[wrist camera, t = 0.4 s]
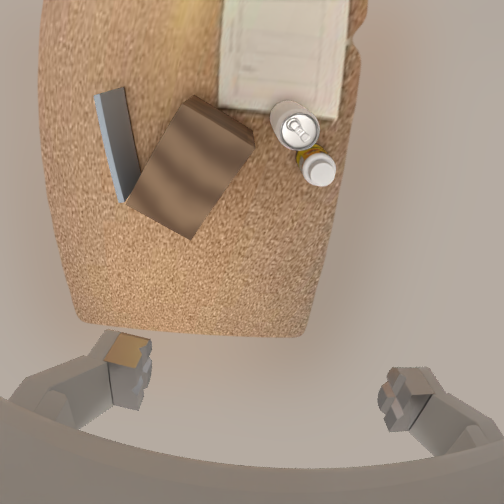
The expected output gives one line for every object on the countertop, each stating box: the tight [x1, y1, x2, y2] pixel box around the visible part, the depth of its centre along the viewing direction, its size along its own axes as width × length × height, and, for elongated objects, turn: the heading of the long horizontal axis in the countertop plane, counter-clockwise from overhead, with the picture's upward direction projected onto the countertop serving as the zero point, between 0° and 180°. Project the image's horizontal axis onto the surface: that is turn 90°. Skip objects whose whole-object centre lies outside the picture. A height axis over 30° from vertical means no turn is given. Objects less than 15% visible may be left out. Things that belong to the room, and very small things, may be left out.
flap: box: [94, 87, 141, 203], centre depth 47 cm, size 18×1×10 cm, turn 5°
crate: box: [126, 95, 255, 240], centre depth 50 cm, size 18×12×12 cm, turn 145°
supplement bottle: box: [296, 143, 336, 186], centre depth 52 cm, size 6×6×10 cm
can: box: [270, 101, 320, 151], centre depth 47 cm, size 6×6×12 cm
